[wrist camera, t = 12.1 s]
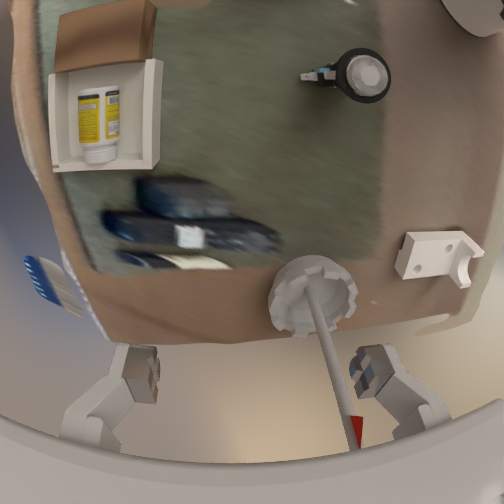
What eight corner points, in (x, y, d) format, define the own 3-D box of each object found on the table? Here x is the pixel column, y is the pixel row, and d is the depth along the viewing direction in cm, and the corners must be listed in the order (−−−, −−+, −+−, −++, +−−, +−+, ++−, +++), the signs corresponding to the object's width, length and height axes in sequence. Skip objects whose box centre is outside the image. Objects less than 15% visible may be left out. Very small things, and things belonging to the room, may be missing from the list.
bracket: (459, 228, 41) (484, 251, 35) (447, 261, 45) (469, 286, 39) (403, 229, 41) (428, 256, 34) (393, 266, 44) (413, 296, 38)
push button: (301, 98, 30) (329, 105, 21) (296, 54, 27) (323, 45, 18) (355, 96, 29) (397, 105, 21) (351, 55, 27) (393, 50, 18)
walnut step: (79, 20, 21) (59, 15, 17) (157, 8, 22) (145, -3, 18) (75, 71, 25) (54, 72, 20) (151, 61, 26) (138, 59, 22)
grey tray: (65, 73, 24) (48, 74, 21) (163, 61, 26) (155, 58, 23) (68, 162, 31) (53, 172, 28) (159, 159, 32) (152, 169, 29)
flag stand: (344, 306, 48) (404, 470, 23) (269, 319, 48) (297, 499, 23) (349, 242, 41) (449, 434, 16) (261, 256, 41) (297, 483, 16)
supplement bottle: (75, 90, 24) (77, 159, 28) (80, 89, 21) (83, 168, 26) (114, 85, 27) (114, 152, 31) (125, 84, 24) (125, 159, 28)
